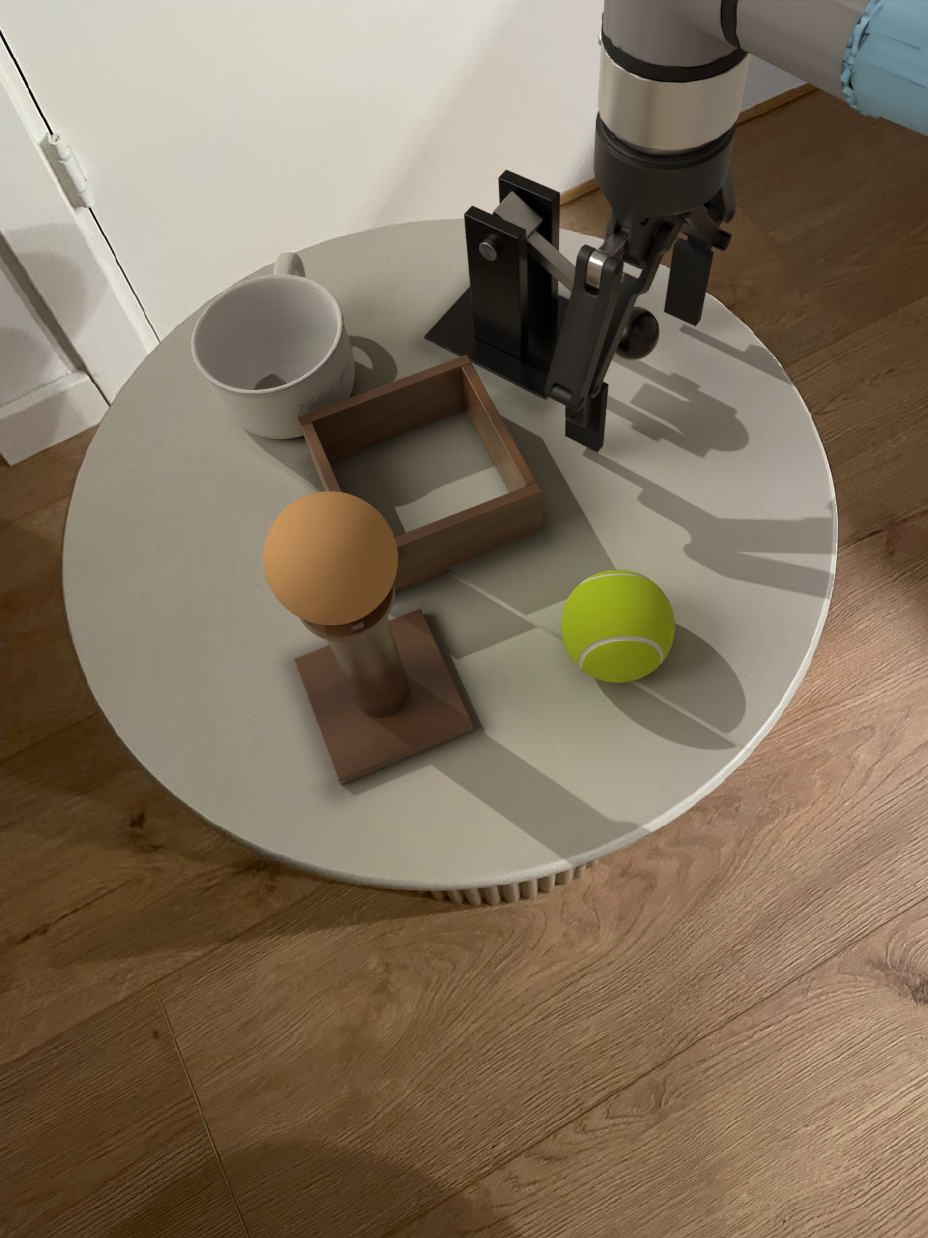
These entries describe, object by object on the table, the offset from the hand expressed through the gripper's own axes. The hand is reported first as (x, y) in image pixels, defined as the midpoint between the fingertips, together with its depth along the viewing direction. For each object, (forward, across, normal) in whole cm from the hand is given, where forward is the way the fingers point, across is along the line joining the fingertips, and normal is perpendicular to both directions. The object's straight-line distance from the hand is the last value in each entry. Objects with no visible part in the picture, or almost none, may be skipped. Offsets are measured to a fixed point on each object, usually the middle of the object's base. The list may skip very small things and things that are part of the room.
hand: (634, 376), depth 72 cm
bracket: (+2, 0, -10) cm, 11 cm away
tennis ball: (+2, +18, +10) cm, 21 cm away
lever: (-5, 0, -6) cm, 8 cm away
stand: (+2, +30, -1) cm, 30 cm away
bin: (+2, +16, -7) cm, 18 cm away
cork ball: (-16, +30, -1) cm, 34 cm away
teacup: (+2, +13, -22) cm, 26 cm away
